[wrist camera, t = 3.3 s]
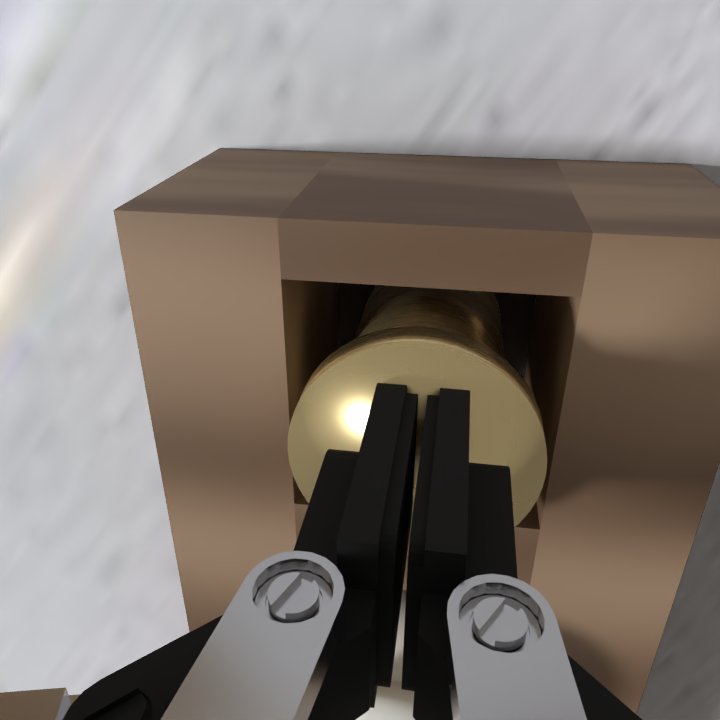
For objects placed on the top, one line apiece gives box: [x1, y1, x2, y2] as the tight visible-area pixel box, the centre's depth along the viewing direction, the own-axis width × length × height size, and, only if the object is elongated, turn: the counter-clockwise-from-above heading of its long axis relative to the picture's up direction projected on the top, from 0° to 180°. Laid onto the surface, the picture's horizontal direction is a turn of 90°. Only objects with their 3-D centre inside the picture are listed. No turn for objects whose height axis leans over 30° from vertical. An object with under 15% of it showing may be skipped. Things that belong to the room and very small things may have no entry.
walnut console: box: [114, 148, 720, 714], centre depth 20 cm, size 24×12×6 cm, turn 0°
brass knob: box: [288, 285, 547, 556], centre depth 15 cm, size 5×5×6 cm
